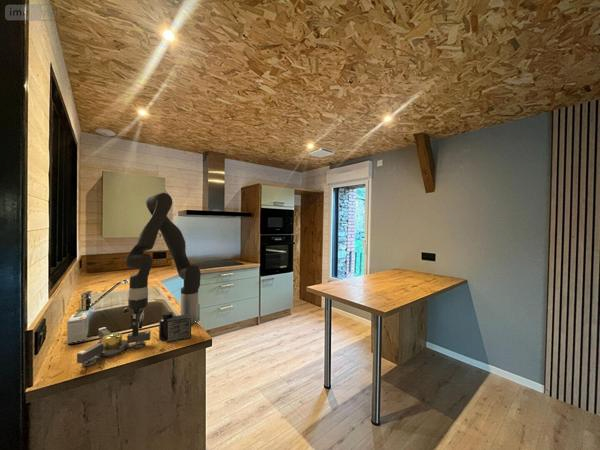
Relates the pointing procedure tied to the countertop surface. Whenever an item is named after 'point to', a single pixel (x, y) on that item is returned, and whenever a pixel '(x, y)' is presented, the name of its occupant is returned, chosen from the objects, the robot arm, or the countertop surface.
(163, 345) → the countertop surface
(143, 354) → the countertop surface
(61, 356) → the countertop surface
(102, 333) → the knob side
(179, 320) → the small box
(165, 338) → the supplement bottle
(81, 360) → the knob
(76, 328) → the light bulb box
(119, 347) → the tribrach
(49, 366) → the countertop surface
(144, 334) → the knob
